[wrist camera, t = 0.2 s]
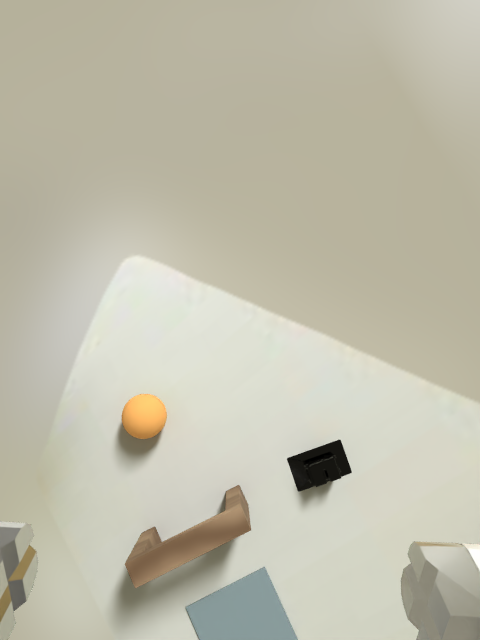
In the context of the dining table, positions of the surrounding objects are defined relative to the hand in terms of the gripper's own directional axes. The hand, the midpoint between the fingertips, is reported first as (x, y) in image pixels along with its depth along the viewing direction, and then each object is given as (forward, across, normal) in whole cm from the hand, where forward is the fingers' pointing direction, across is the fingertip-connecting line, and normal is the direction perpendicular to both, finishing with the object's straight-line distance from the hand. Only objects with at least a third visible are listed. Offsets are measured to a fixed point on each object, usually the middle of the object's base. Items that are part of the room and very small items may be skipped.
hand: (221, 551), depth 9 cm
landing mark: (+33, +4, -53) cm, 63 cm away
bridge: (+39, -4, -41) cm, 57 cm away
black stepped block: (+44, +13, -34) cm, 57 cm away
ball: (+43, -12, -27) cm, 52 cm away
